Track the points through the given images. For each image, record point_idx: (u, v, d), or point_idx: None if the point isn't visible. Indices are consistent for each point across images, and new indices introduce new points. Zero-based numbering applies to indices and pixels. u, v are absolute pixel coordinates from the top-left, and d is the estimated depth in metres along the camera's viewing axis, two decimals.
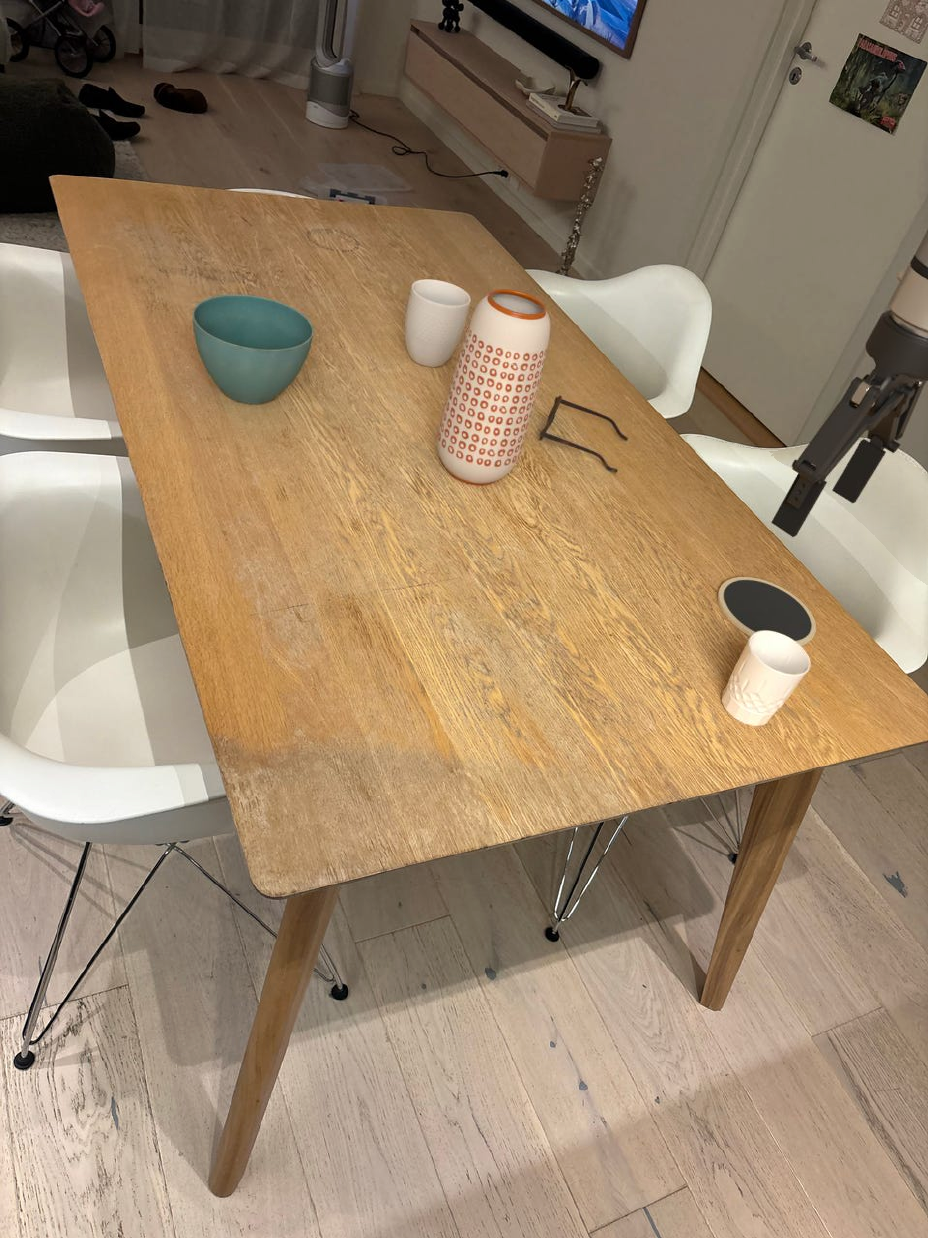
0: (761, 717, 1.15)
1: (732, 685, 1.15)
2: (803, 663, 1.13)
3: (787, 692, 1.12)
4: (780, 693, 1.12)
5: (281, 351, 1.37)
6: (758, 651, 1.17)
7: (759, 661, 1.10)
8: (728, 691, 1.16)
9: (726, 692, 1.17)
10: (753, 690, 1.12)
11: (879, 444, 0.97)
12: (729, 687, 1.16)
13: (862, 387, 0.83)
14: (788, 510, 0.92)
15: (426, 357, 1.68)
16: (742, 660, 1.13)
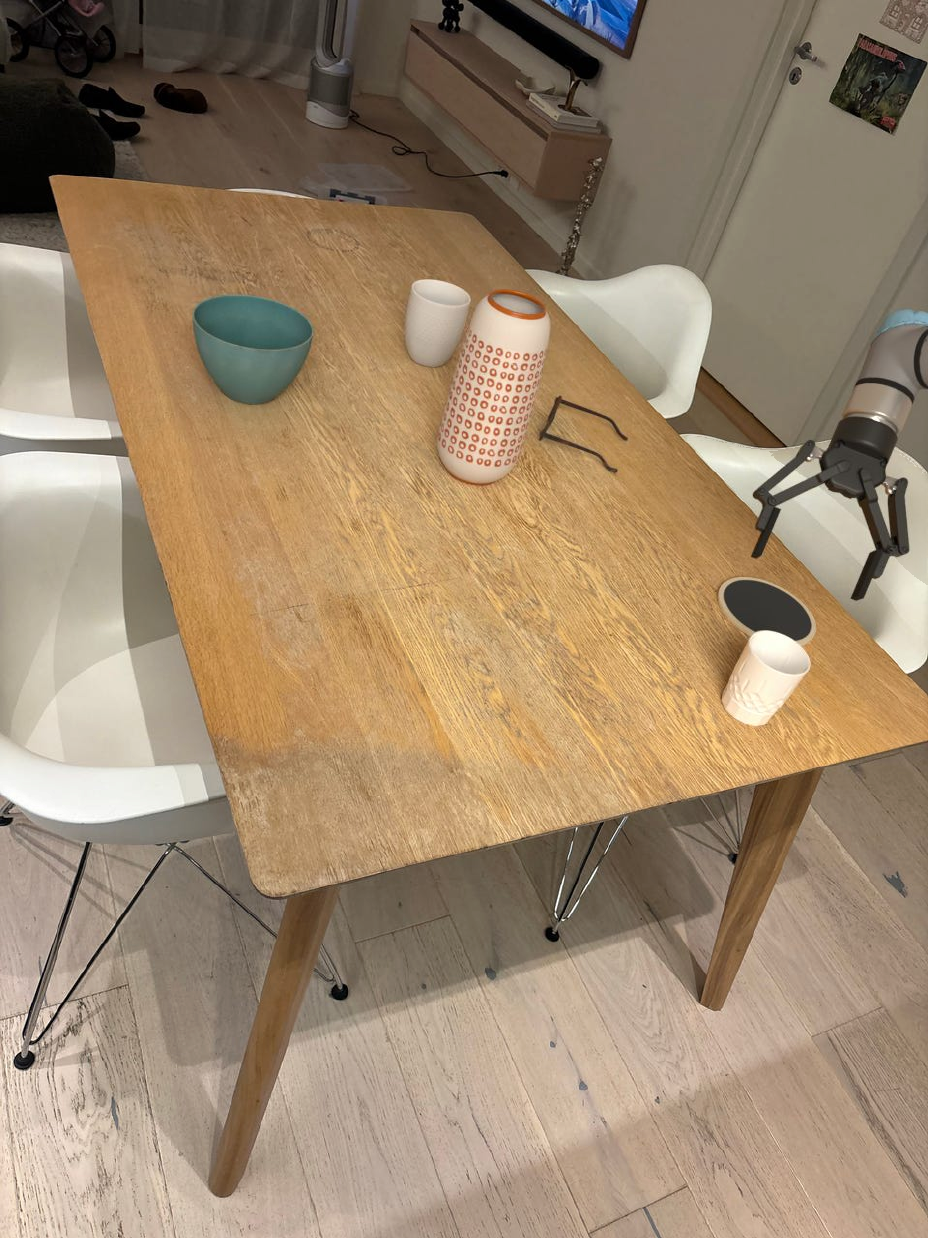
0: (761, 717, 1.15)
1: (732, 685, 1.15)
2: (803, 663, 1.13)
3: (787, 692, 1.12)
4: (780, 693, 1.12)
5: (281, 351, 1.37)
6: (758, 651, 1.17)
7: (759, 661, 1.10)
8: (728, 691, 1.16)
9: (726, 692, 1.17)
10: (753, 690, 1.12)
11: (880, 550, 1.16)
12: (729, 687, 1.16)
13: (803, 444, 1.19)
14: (759, 539, 1.18)
15: (426, 357, 1.68)
16: (742, 660, 1.13)
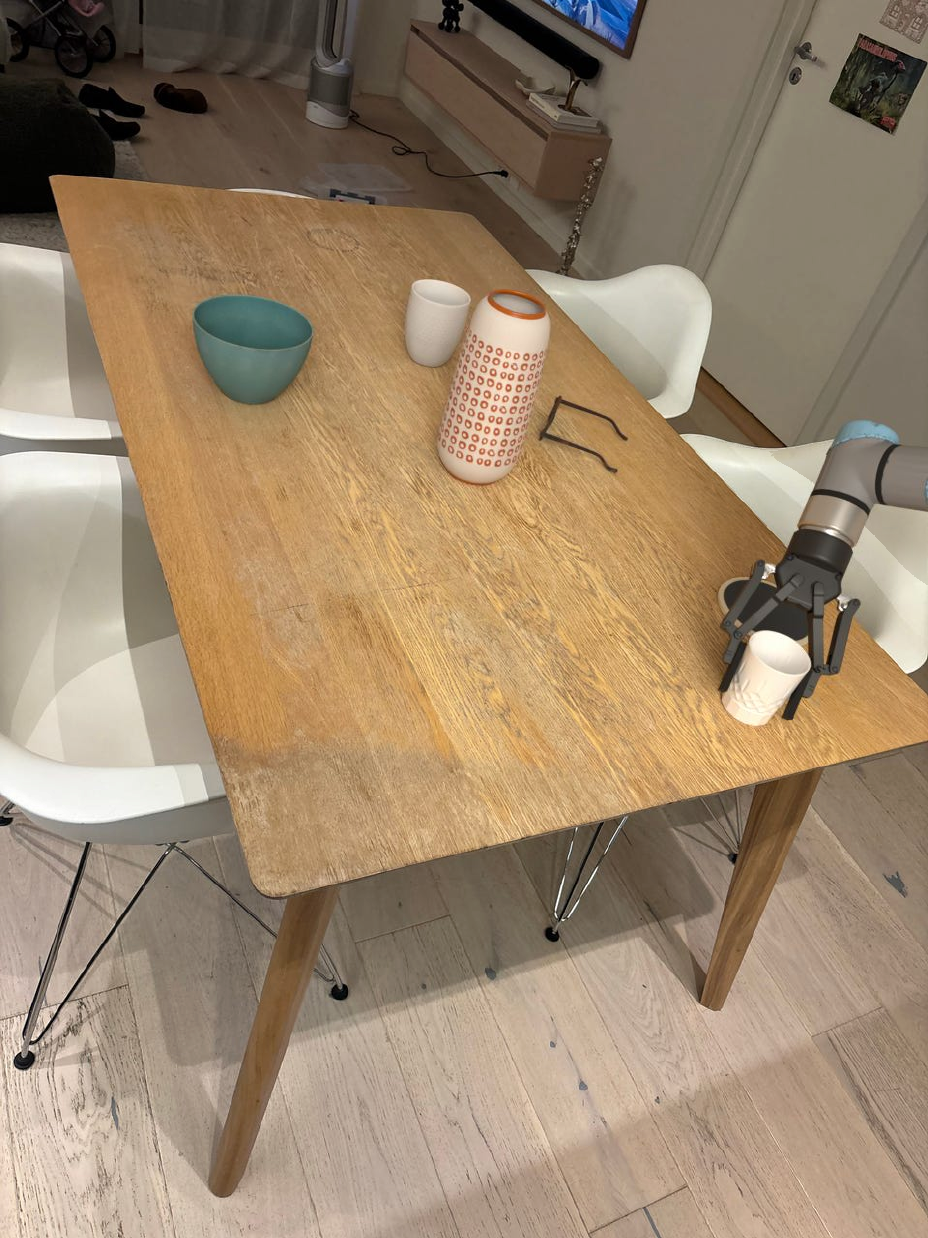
0: (761, 717, 1.15)
1: (732, 685, 1.15)
2: (803, 663, 1.13)
3: (787, 692, 1.12)
4: (780, 693, 1.12)
5: (281, 351, 1.37)
6: (758, 651, 1.17)
7: (759, 661, 1.10)
8: (728, 691, 1.16)
9: (726, 692, 1.17)
10: (754, 690, 1.12)
11: (811, 667, 1.13)
12: (729, 687, 1.16)
13: None
14: (725, 673, 1.15)
15: (426, 357, 1.68)
16: (742, 659, 1.13)
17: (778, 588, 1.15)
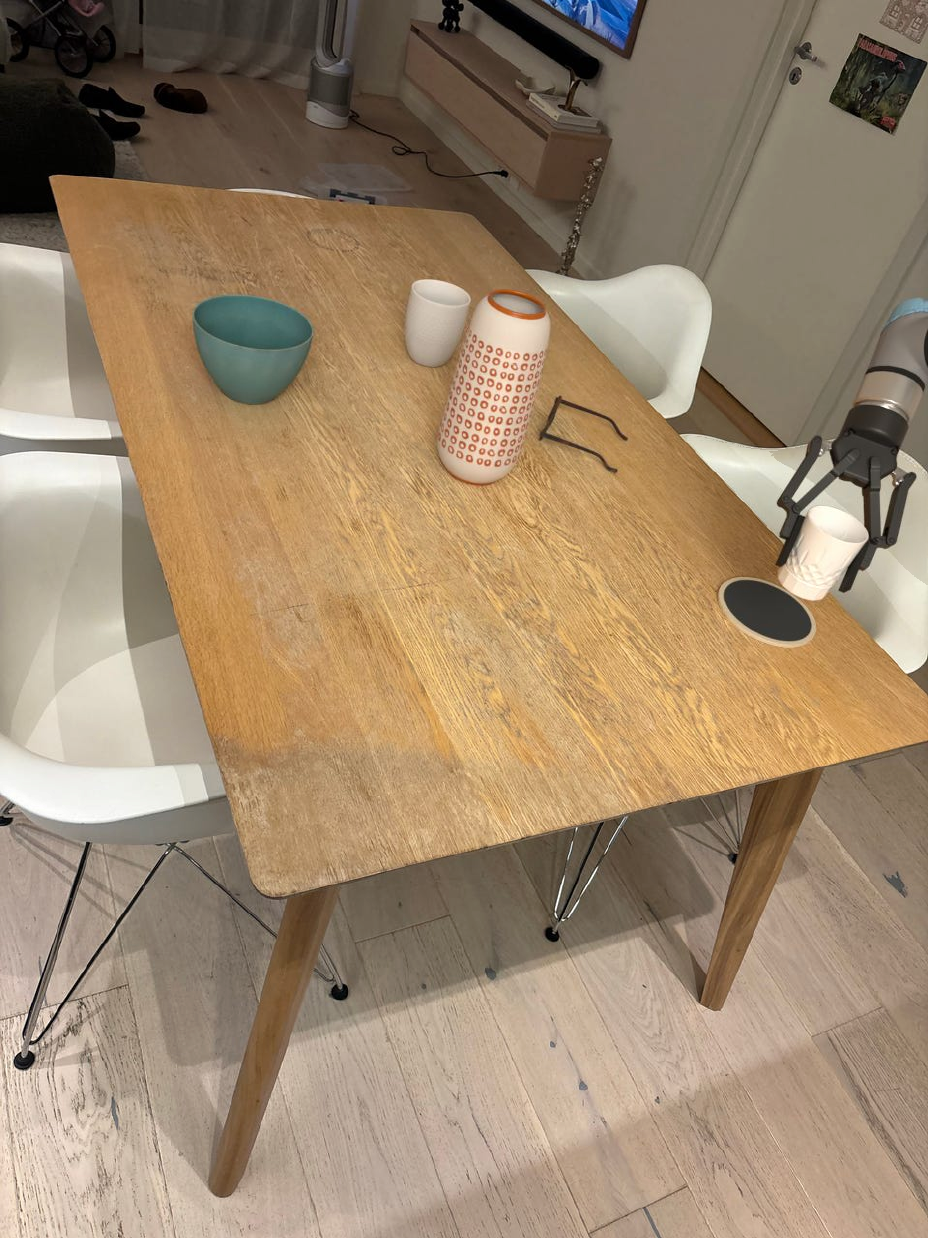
0: (818, 590, 1.17)
1: (790, 560, 1.18)
2: (860, 536, 1.16)
3: (845, 563, 1.14)
4: (839, 563, 1.14)
5: (281, 351, 1.37)
6: None
7: (819, 530, 1.12)
8: (785, 566, 1.19)
9: (783, 568, 1.19)
10: (812, 562, 1.15)
11: (868, 539, 1.16)
12: (786, 562, 1.19)
13: (810, 441, 1.18)
14: (783, 548, 1.17)
15: (426, 357, 1.68)
16: (801, 532, 1.15)
17: (834, 464, 1.17)
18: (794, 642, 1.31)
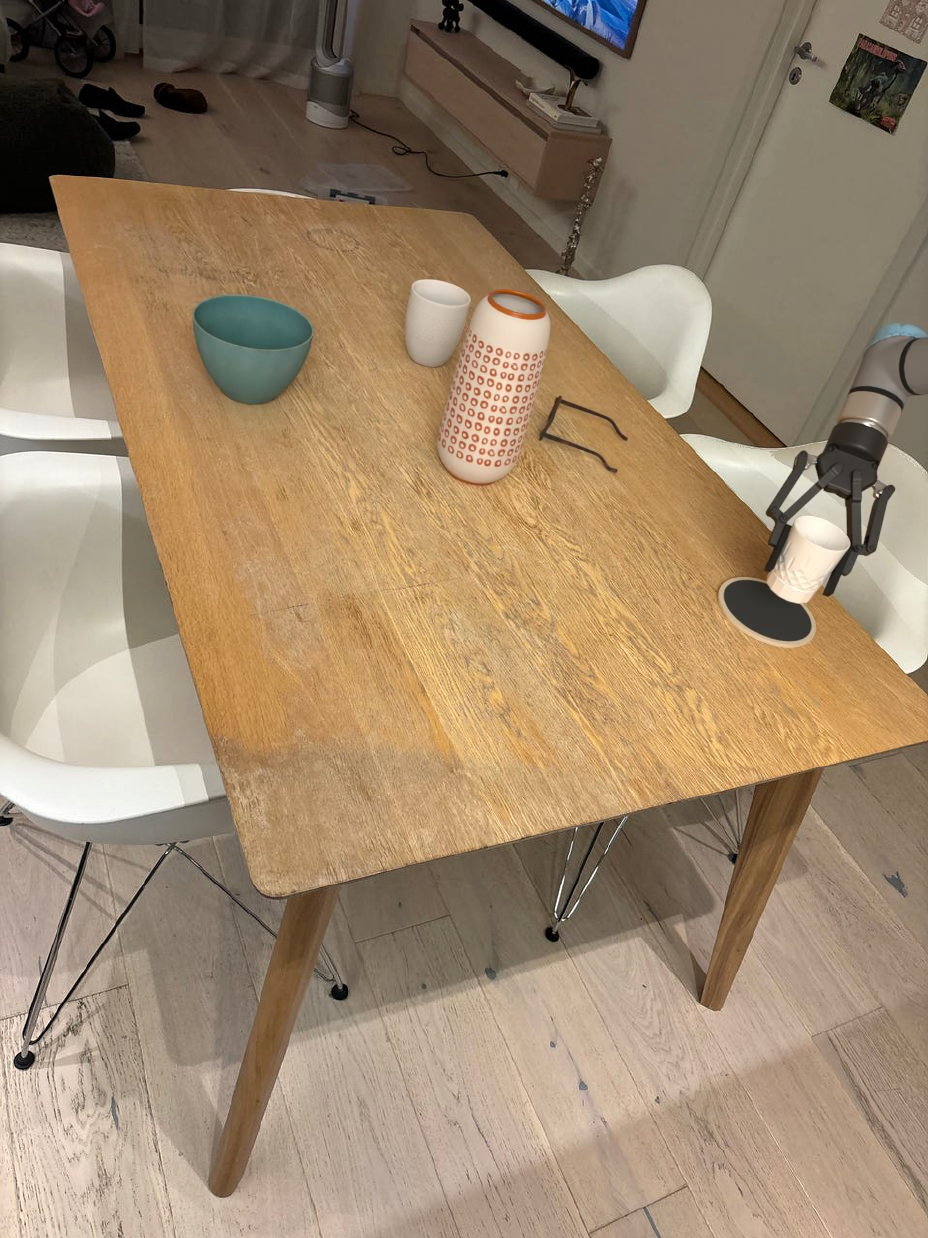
0: (804, 594, 1.26)
1: (777, 565, 1.27)
2: (843, 543, 1.25)
3: (829, 568, 1.23)
4: (823, 569, 1.23)
5: (281, 351, 1.37)
6: None
7: (804, 538, 1.21)
8: (773, 572, 1.28)
9: (771, 573, 1.28)
10: (798, 567, 1.24)
11: (850, 547, 1.25)
12: (774, 568, 1.28)
13: (797, 455, 1.27)
14: (771, 554, 1.26)
15: (426, 357, 1.68)
16: (787, 540, 1.25)
17: (819, 477, 1.26)
18: (794, 642, 1.31)
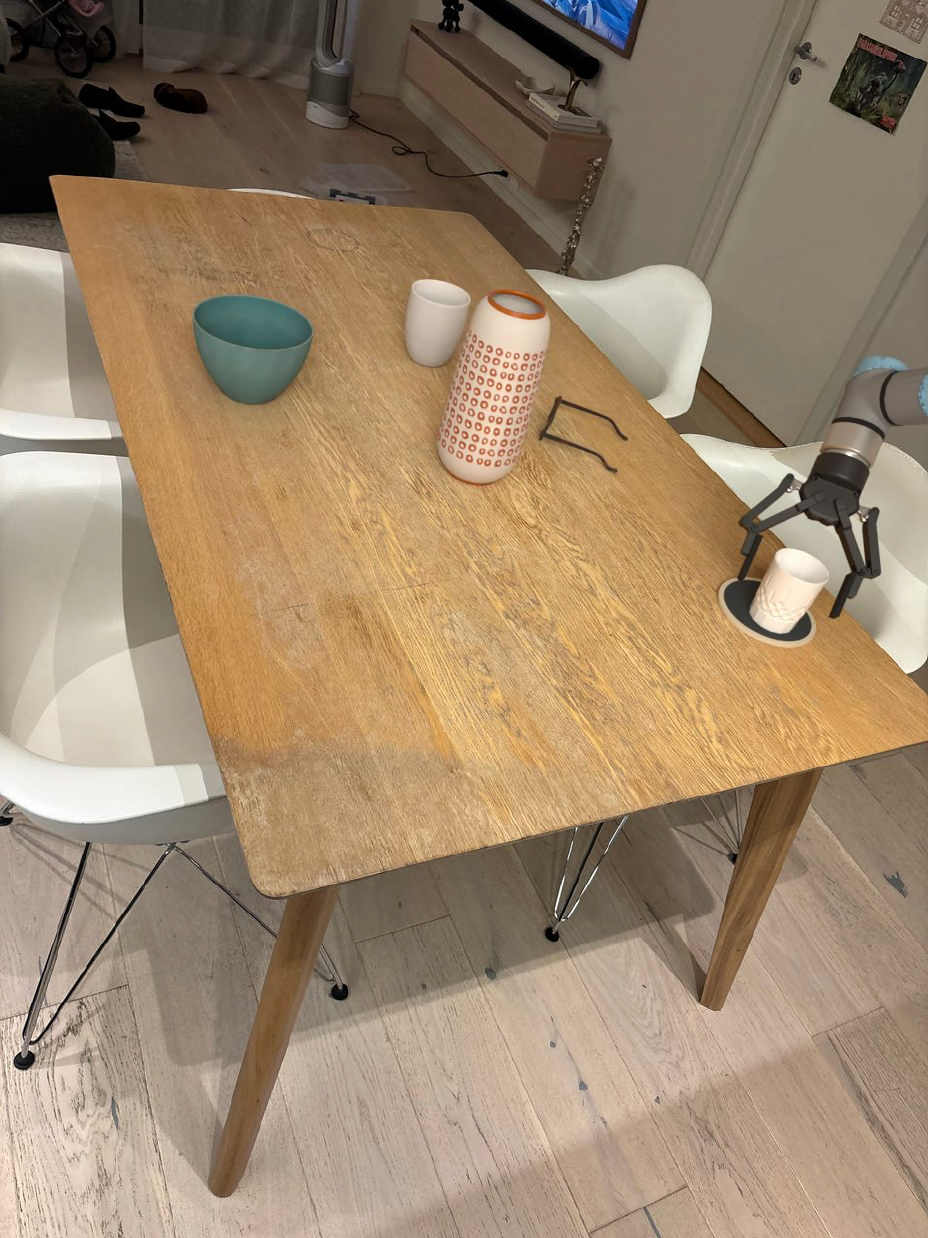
0: (785, 625, 1.30)
1: (759, 597, 1.31)
2: (822, 576, 1.28)
3: (808, 600, 1.27)
4: (803, 601, 1.27)
5: (281, 351, 1.37)
6: (782, 567, 1.32)
7: (784, 572, 1.25)
8: (755, 603, 1.32)
9: (754, 604, 1.32)
10: (779, 599, 1.27)
11: (855, 572, 1.28)
12: (756, 599, 1.31)
13: (784, 477, 1.31)
14: (743, 563, 1.30)
15: (426, 357, 1.68)
16: (769, 573, 1.28)
17: None
18: (794, 642, 1.31)
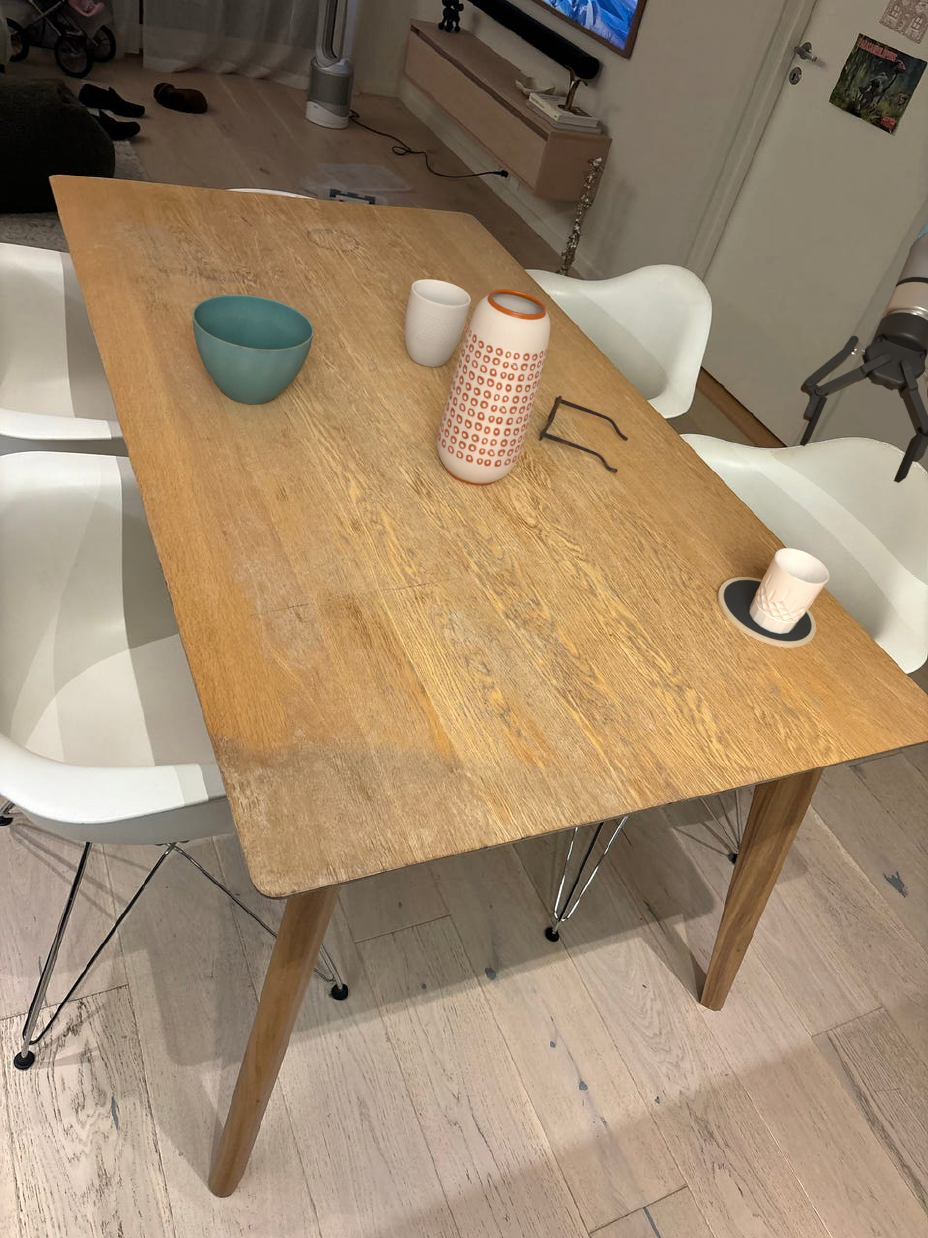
0: (785, 625, 1.30)
1: (759, 597, 1.31)
2: (822, 576, 1.28)
3: (808, 600, 1.27)
4: (803, 601, 1.27)
5: (281, 351, 1.37)
6: (782, 567, 1.32)
7: (784, 572, 1.25)
8: (755, 603, 1.32)
9: (754, 604, 1.32)
10: (779, 599, 1.27)
11: None
12: (756, 599, 1.31)
13: None
14: (807, 428, 1.28)
15: (426, 357, 1.68)
16: (769, 573, 1.28)
17: None
18: (794, 642, 1.31)
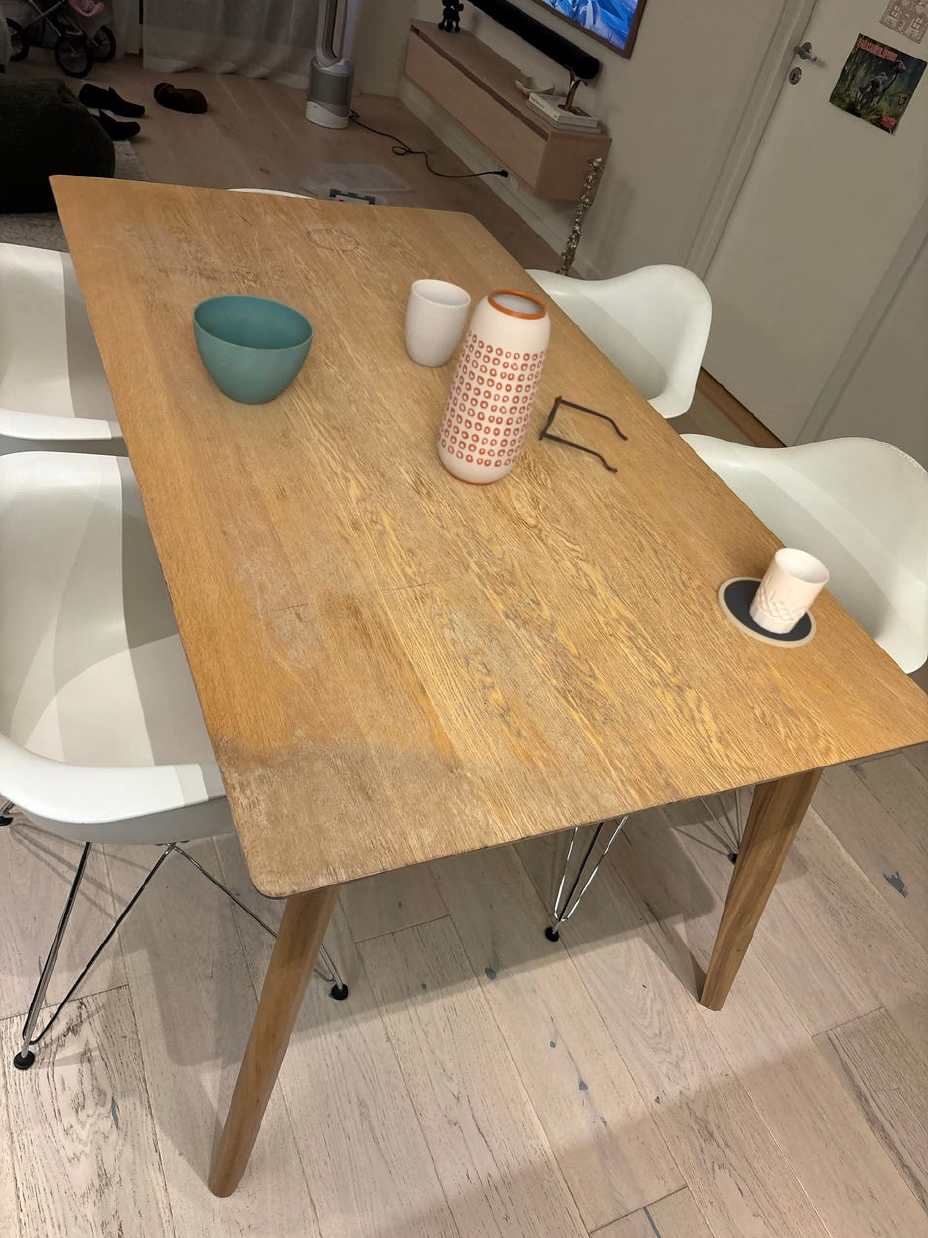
0: (785, 625, 1.30)
1: (759, 597, 1.31)
2: (822, 576, 1.28)
3: (808, 600, 1.27)
4: (803, 601, 1.27)
5: (281, 351, 1.37)
6: (782, 567, 1.32)
7: (784, 572, 1.25)
8: (755, 603, 1.32)
9: (754, 604, 1.32)
10: (779, 599, 1.27)
11: None
12: (756, 599, 1.31)
13: None
14: None
15: (426, 357, 1.68)
16: (769, 573, 1.28)
17: None
18: (794, 642, 1.31)
